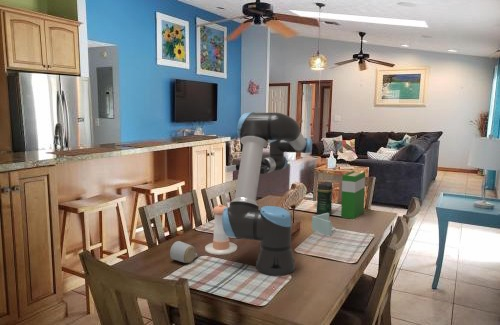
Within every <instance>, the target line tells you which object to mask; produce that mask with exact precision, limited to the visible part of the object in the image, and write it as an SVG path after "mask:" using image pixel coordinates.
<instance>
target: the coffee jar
mask: <svg viewBox="0 0 500 325" xmlns="http://www.w3.org/2000/svg"><path fill="white" fill-rule="evenodd" d="M316 192H317V196H316V198H317V199H316V214H317V215H320V214H324V213H329V216H330V215H331V214H332V204H333V203H332V202H333V201H332V200H333V196H332V195H333V183H331V182H329V181H323V182H321V183H319V184H318V185H317V191H316Z"/></svg>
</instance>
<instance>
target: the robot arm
mask: <svg viewBox="0 0 500 325" xmlns="http://www.w3.org/2000/svg"><path fill="white" fill-rule="evenodd" d="M236 128H237V131H236V133H237V138H238V139H239V140H240V143H241V145H242V148H241V149H242V151H241V157H240V163H232V165H227V166H225V173H230V172H236V171H238V174H237V182H236V187H235V194H234V199H233V200H231V201H230V202H229V206H226V207H227V208H225V209H224V211H223V216H222V224H223V229H224V232H225V234H226V235H227V236H228V237H229V238H232V239H236V240H238V239H244V240H250V241H260V249H259V252H258V254H257V258H256V260H255V268H256V270H257V271H259V272H260V273H262V274H264V275H269V276H285V275H288V274H289V275H290V274H291V273H293V272H294V271H295V270H296V260H295V259H294V256H293V255H294V254H293V252H292V226H293V225H292V214H291V213H290V212H289V210H287V209H286V208H283V207H279V206H275V205H274V206H273V205H264V206H261V208H260V207H259V204H257V202H256V201H257V195H258V187H259V181H260V175H261V174H262V175H264V174H270V173H273V172H277V171H282V170H285V169H286V168H287V166H288V165H289V164H288V159H287V157H286V156H284V155H285V153H295V154H296V153H300V154H301V153H302V154H309V153H311V152H312V150H313V140H312V138H309V137H305V136H304V135H303V133H302V132H301V127H300V124H299V123H298V122H297V120H295V119H294V118H292V117H290V116H289V115H287V114H284V113H281V112H255V111H253V112H245V113H243V114H242V115H241V116H240V117H239V119H238V121H237V127H236ZM268 141H269V142H268ZM268 144H269V156H268V157H264V158H263V153H264V148H266V147H267V145H268ZM259 208H260V209H259Z"/></svg>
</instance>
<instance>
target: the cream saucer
mask: <svg viewBox="0 0 500 325" xmlns="http://www.w3.org/2000/svg"><path fill="white" fill-rule="evenodd" d="M204 250H205V252H206V253H208V254H210V255H216V256H222V255H230V254H233V253H235V252H236V251H237V250H238V246H237V244H235V243H233V242H230V247H229V248H228V249H225V250H217V249H214V248H213V242H210V243H207V244H206V245H205V247H204Z"/></svg>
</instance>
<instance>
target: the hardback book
mask: <svg viewBox="0 0 500 325" xmlns="http://www.w3.org/2000/svg"><path fill="white" fill-rule="evenodd" d="M341 182H342V183H341V209H340V210H341V214H340V217H341V218H344V219H349V220H355V219H356V218H357V217H359V216H361V215H362V214H363V213H364V212H365V195H366V194H365V190H366V172H365V171H363V172H355V170H352V171H350V172H347V173H345V174H342V181H341Z"/></svg>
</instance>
